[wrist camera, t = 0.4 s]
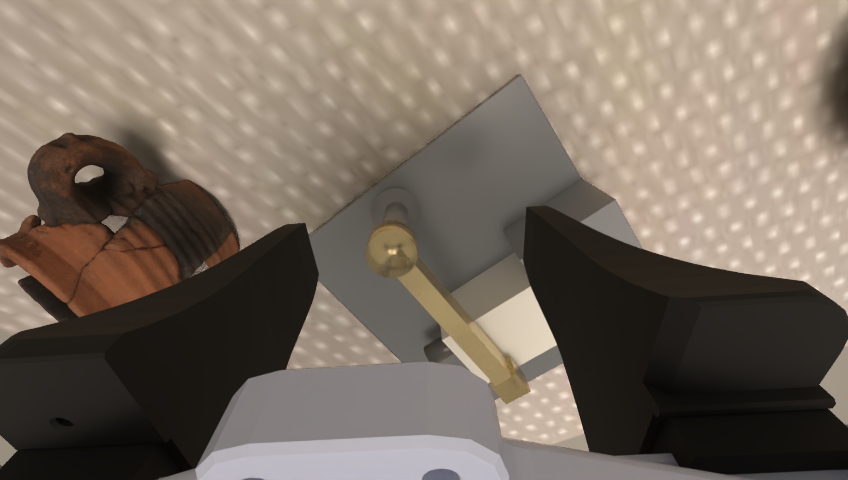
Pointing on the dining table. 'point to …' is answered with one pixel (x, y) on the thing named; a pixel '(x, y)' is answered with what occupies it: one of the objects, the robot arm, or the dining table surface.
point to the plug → (499, 316)
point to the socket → (460, 217)
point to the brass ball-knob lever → (441, 305)
